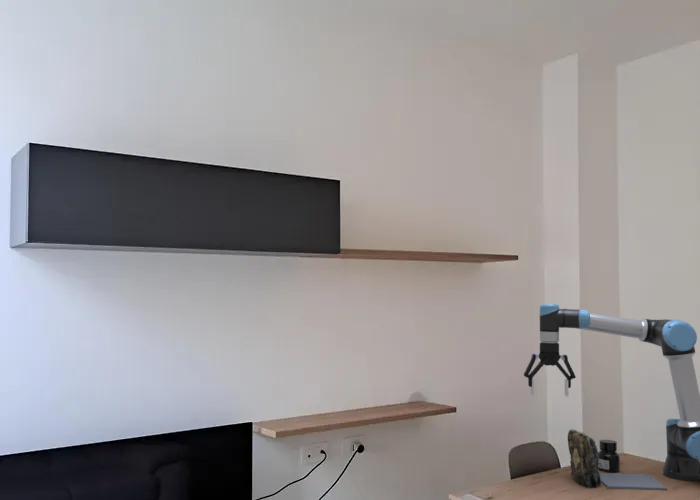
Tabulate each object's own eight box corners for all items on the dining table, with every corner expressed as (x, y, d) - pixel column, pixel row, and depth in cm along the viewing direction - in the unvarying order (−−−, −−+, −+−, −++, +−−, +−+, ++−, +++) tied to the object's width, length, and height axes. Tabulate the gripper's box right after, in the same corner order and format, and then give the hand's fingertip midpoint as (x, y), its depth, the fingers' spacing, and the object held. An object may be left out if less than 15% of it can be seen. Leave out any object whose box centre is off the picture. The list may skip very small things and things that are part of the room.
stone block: (606, 487, 244) (605, 434, 245) (585, 488, 242) (584, 435, 244) (579, 474, 262) (578, 425, 263) (560, 475, 260) (559, 426, 261)
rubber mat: (648, 476, 260) (648, 474, 260) (667, 490, 241) (667, 488, 241) (592, 474, 262) (592, 472, 262) (607, 488, 243) (607, 486, 243)
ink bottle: (593, 467, 274) (593, 438, 275) (613, 467, 274) (613, 438, 275) (603, 473, 264) (602, 443, 265) (624, 473, 265) (623, 443, 265)
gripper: (578, 342, 260) (578, 395, 258) (516, 340, 262) (516, 393, 260) (583, 343, 252) (583, 397, 251) (520, 342, 254) (520, 395, 253)
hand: (549, 395), depth 255 cm, fingers open, 13 cm apart
